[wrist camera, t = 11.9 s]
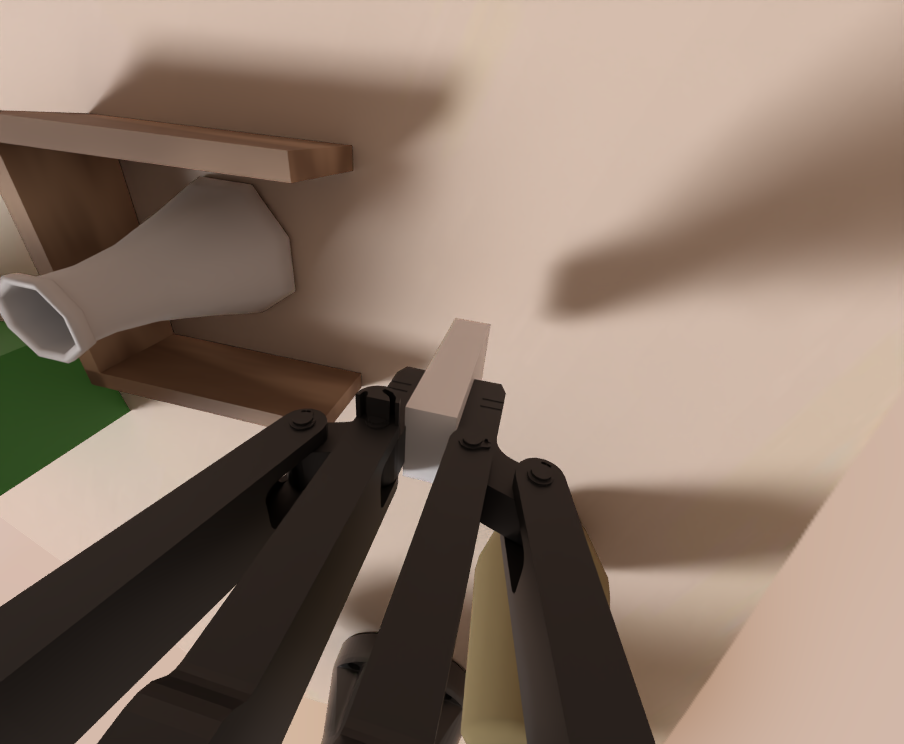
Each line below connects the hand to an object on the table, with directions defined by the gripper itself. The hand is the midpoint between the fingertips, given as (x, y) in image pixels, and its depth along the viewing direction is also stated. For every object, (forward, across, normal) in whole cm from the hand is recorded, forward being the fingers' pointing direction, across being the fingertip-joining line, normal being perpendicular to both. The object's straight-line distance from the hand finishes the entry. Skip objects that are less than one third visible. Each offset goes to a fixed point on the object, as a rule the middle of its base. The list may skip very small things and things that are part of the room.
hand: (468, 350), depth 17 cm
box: (+4, +14, 0) cm, 14 cm away
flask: (+4, +14, -1) cm, 14 cm away
